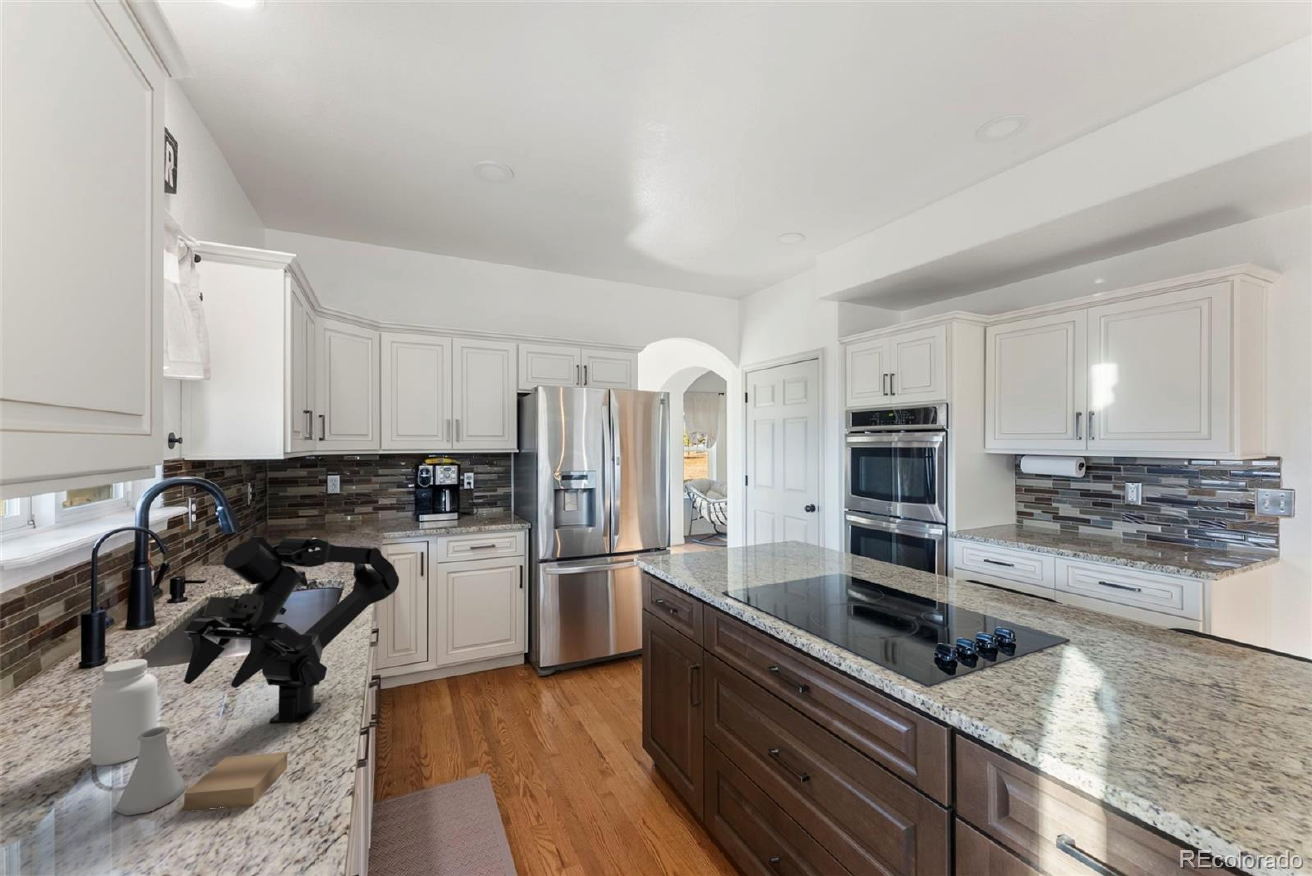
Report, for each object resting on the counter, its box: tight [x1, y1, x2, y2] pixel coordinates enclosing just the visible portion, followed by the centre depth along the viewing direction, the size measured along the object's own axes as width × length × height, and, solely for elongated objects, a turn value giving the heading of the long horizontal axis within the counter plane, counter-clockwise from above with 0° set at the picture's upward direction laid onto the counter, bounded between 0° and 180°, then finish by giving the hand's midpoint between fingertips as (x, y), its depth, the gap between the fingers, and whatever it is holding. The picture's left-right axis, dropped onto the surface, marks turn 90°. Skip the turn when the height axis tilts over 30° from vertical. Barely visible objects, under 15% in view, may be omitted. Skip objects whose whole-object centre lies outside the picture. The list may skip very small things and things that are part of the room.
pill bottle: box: [89, 658, 158, 767], centre depth 89 cm, size 8×8×15 cm
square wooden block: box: [183, 752, 288, 812], centre depth 80 cm, size 9×9×3 cm
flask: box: [114, 726, 188, 816], centre depth 77 cm, size 7×7×10 cm
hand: (209, 685), depth 85 cm, fingers open, 9 cm apart
